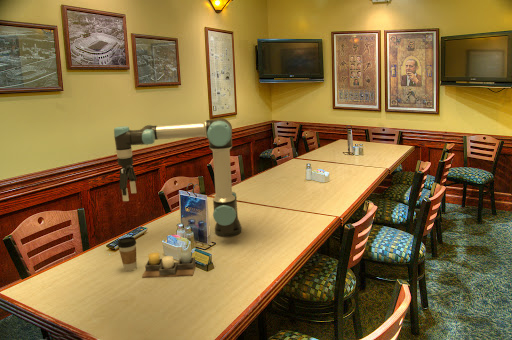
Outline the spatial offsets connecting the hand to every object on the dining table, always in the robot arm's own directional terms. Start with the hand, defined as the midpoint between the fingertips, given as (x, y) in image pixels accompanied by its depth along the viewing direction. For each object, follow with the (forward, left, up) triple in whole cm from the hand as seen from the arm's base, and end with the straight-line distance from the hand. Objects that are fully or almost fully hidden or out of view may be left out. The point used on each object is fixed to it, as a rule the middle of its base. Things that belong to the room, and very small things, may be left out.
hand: (130, 196), depth 230 cm
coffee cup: (-4, +26, -28) cm, 39 cm away
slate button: (-32, +28, -24) cm, 49 cm away
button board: (-24, +30, -28) cm, 48 cm away
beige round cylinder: (-24, +33, -24) cm, 48 cm away
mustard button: (-17, +28, -24) cm, 41 cm away
